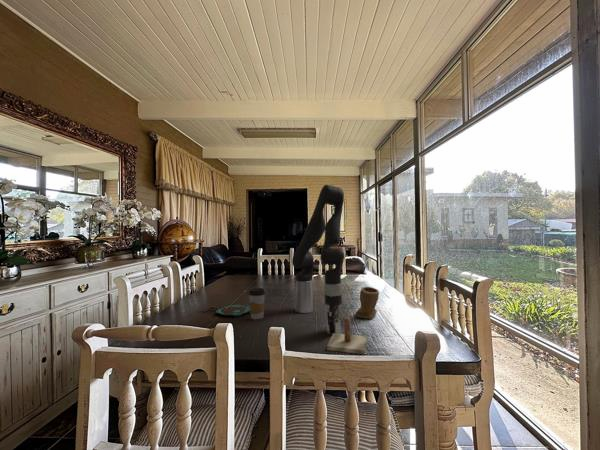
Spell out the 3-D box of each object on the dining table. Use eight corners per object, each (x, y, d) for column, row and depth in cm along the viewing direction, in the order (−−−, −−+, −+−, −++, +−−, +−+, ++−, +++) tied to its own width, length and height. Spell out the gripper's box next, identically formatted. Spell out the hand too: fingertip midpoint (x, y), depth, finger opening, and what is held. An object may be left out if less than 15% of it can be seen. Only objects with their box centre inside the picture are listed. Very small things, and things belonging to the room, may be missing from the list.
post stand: (326, 349, 110) (326, 322, 110) (333, 336, 124) (333, 312, 124) (364, 354, 106) (363, 325, 106) (367, 339, 119) (366, 314, 119)
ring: (325, 333, 127) (325, 322, 127) (328, 329, 132) (328, 318, 132) (339, 335, 125) (338, 323, 125) (341, 330, 131) (341, 319, 131)
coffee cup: (268, 317, 152) (267, 288, 152) (259, 321, 144) (259, 291, 144) (255, 315, 155) (254, 287, 156) (245, 319, 148) (245, 290, 148)
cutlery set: (238, 320, 148) (238, 315, 148) (195, 314, 161) (195, 310, 161) (260, 310, 166) (259, 306, 166) (219, 305, 179) (219, 302, 179)
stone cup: (376, 321, 142) (376, 291, 142) (353, 318, 147) (352, 289, 147) (382, 313, 156) (381, 285, 156) (360, 310, 161) (360, 283, 161)
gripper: (328, 289, 137) (328, 324, 137) (321, 296, 123) (321, 336, 123) (344, 290, 134) (344, 326, 134) (338, 297, 121) (339, 337, 121)
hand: (333, 330), depth 129 cm, fingers closed on ring, 6 cm apart
